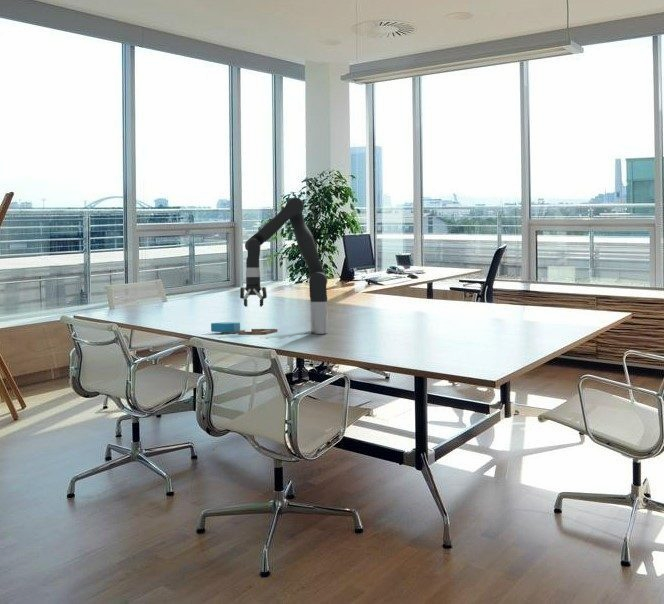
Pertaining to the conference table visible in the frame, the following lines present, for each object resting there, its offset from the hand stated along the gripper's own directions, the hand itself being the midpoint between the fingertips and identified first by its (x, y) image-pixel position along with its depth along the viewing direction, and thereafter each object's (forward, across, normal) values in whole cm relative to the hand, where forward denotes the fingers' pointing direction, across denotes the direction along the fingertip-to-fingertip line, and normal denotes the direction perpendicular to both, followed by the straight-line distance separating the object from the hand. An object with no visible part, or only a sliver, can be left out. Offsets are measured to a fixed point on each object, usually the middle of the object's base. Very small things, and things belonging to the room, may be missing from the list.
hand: (253, 306), depth 392 cm
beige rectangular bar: (+15, -7, -1) cm, 17 cm away
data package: (+11, +21, -1) cm, 24 cm away
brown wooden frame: (+14, -2, 0) cm, 14 cm away
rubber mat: (+14, +12, 0) cm, 19 cm away
